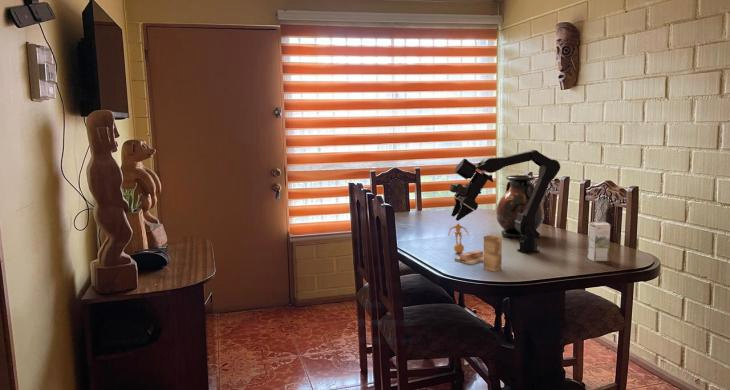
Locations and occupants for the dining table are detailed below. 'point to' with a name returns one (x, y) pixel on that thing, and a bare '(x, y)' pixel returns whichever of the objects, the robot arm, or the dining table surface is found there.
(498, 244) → the oak post
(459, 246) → the figurine
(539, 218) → the amphora vase
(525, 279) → the dining table surface
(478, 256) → the fulcrum
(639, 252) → the dining table surface
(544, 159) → the robot arm
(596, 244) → the syrup box
